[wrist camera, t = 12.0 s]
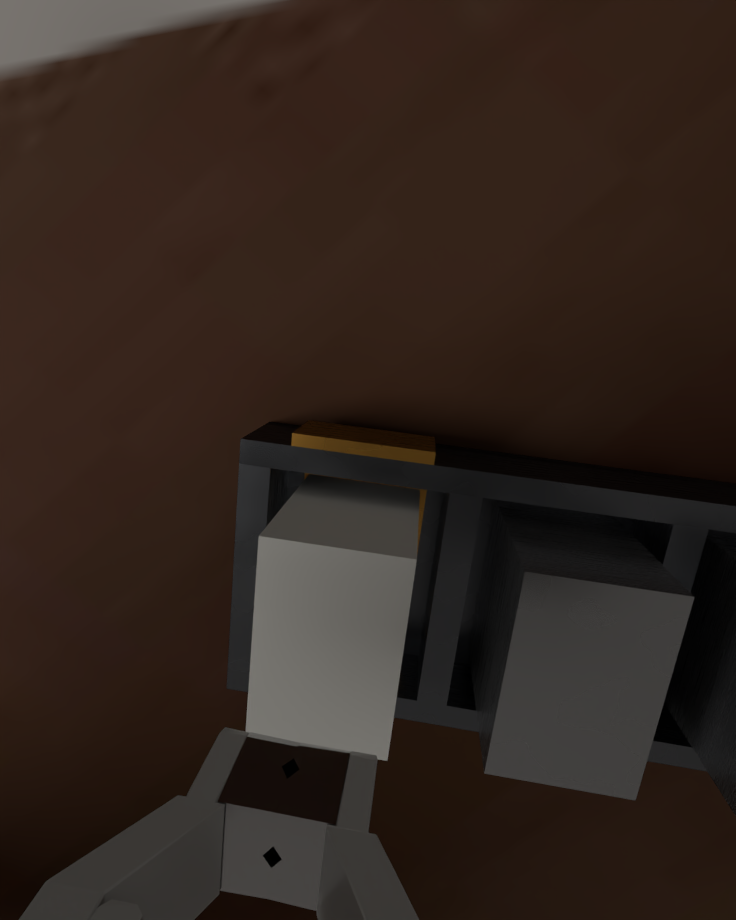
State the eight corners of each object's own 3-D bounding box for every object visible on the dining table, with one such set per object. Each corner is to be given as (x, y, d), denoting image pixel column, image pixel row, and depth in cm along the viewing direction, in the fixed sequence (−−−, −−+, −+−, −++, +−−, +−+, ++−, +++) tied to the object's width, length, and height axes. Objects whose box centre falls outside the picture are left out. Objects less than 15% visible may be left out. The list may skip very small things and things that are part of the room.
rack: (254, 637, 22) (184, 763, 16) (270, 410, 20) (195, 449, 13) (788, 725, 20) (952, 905, 14) (873, 490, 18) (1116, 578, 12)
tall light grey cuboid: (296, 622, 21) (245, 735, 15) (308, 474, 19) (258, 535, 14) (398, 639, 21) (387, 761, 15) (420, 489, 19) (416, 559, 13)
